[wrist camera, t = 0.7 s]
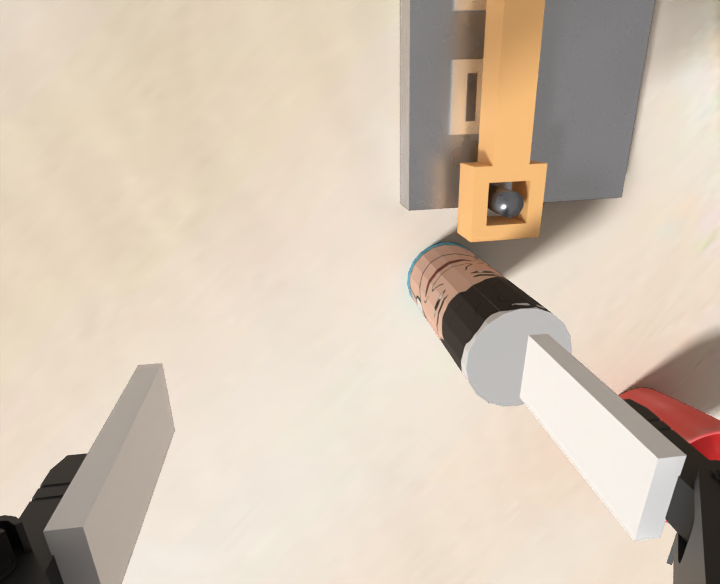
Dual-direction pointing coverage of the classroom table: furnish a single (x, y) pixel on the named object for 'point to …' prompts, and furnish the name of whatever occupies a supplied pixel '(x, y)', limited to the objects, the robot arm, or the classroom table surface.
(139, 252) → the classroom table surface
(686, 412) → the flower pot
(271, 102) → the classroom table surface
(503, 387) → the printed cylinder
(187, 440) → the classroom table surface
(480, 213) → the bar
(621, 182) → the board
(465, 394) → the classroom table surface
